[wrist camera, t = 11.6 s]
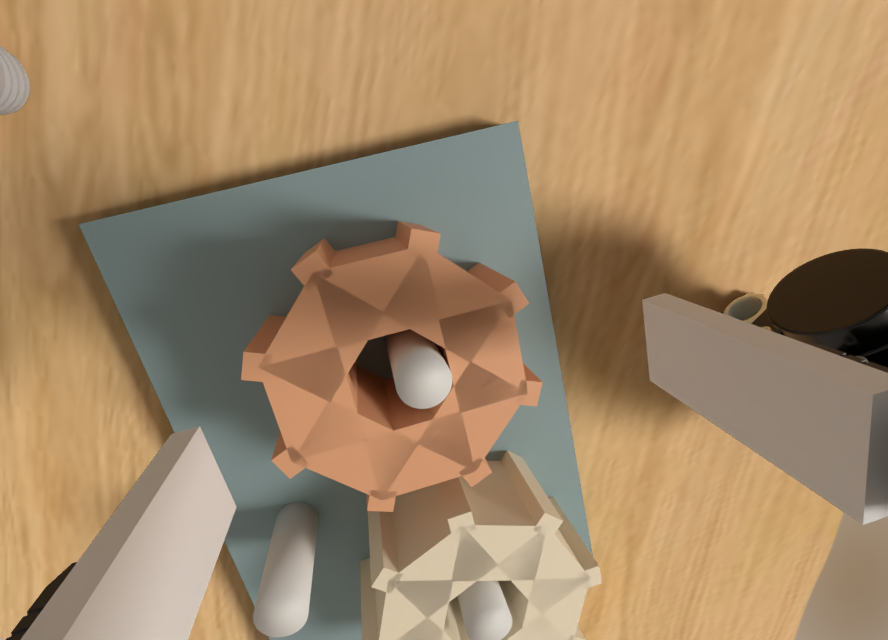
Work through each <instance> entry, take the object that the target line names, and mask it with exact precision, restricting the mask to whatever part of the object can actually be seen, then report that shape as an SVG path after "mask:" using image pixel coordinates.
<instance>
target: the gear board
mask: <svg viewBox="0 0 888 640" xmlns="http://www.w3.org/2000/svg"><path fill="white" fill-rule="evenodd" d="M398 221H402V222H408V223H414V224H419V225H422V226H425V227H427V228H429V229H432V230H434V231H436V232H439V233H441V235H440V241H439V247H438V253H439V254H440V255H442V256H443V257H445V258H447V259H448V260H450V261H451V262H453V263H455V264H456V265H458V266H459V267H461V268H463V269H464V270H466V271H468V270H469V269H471V268H472V267H473V266H475V265H476V264H477V263H481V264H483V265H485V266H487V267H489V268H491V269H493V270H495V271H496V272H498V273H500V274H502V275H504V276H506V277H508V278H510V279H512V280H513V281H515V282H516V283H517V285H518V286H519V288H520V289H521V291H522V293H523V294H524V296H525V297H526V299H527V300H528V302H529V304H528V305H527V306H525V307H524V308H523V309H521V310H520V311H519V312H517V313H516V314H514V317H515V322H516V328H517V333H518V339H519V345H520V350H521V356H522V361H523V363H524V364H525V365H526V366H527V367H528V368H529V369H530V370H531V371H532V372H533V373H534V374H535V375H536V376H537V377H538V378H539V379H540V380H541V381H542V382H543V383H542V387H541V392H540V396H539V400H538V404H537V406H527V405H520V406H519V408H518V409H517V411H516V412H515V414H514V415H513V417H512V418H511V420H510V421H509V423H508V424H507V426H506V427H505V428H504V430H503V431H502V433H501V434H500V436H499V437H498V439H497V440H496V442H495V443H494V445H493V446H492V448H491V449H490V451H489V452H488V454H487V455H486V457H485V459H486V461H487V463H488V465H489V467H490V469H491V471H492V473H491V474H489V475H488V476H487V477H485V478H484V479H483V480H481V481H480V482H478V483H477V484H476V485H474V486H473V487H471V486H470V485H469V484H468V482H467V481H466V480H465V479H464V478H463V476H460V477H457V478H454V479H450V480H447V481H444V482H441V483H437V484H434V485H431V486H428V487H424V488H421V489H418V490H415V491H411V492H408V493H405V494H401V495H398V496H396V498H395V504H394V510H393V512H382V511H367V498H366V493H363V492H361V491H359V490H356V489H354V488H352V487H349V486H347V485H345V484H342V483H340V482H338V481H335V480H333V479H330V478H328V477H326V476H323V475H321V474H319V473H316V472H314V471H312V470H309V469H307V468H304V469H303V470H302V471H300V472H299V473H298V474H296V475H295V476H293V477H292V478H291V479H289V478H288V477H287V476H286V475H285V474H284V473H283V472H282V471H281V470H280V469H279V468H278V467H277V466H276V465H275V464H274V463H273V462H272V461H271V459H272V456H273V453H274V450H275V447H276V443H277V440H278V437H279V434H280V429H279V426H278V423H277V420H276V417H275V415H274V412H273V409H272V406H271V404H270V401H269V398H268V395H267V393H266V390H265V387H264V384H263V382H258V381H246V380H241V374H242V362H243V352H244V350H245V349H246V347H247V346H248V344H249V343H250V342H251V340H252V339H253V337H254V336H255V335H256V333H257V332H258V330H259V329H260V327H261V326H262V325H263V323H264V322H265V320H266V319H267V317H268V316H269V315H274V316H283V317H286V316H287V314H288V312H289V311H290V309H291V307H292V306H293V304H294V302H295V300H296V299H297V297H298V295H299V294H300V292H301V290H302V288H303V287H304V285H303V284H302V283H301V282H300V280H299V279H298V278H297V277H296V276H295V274H294V273H293V272H292V271H291V269H292V267H293V266H294V265H295V264H296V263H297V261H298V260H299V259H300V258H301V257H302V256H303V254H304V253H305V252H306V251H308V250H309V249H310V248H312V247H313V246H314V245H316V244H317V243H318V242H320V241H321V240H323V239H324V238H325V239H326V240H327V241H328V243H329V244H330V245H331V246H332V248H333V249H334V250H335V251H337V250H342V249H346V248H350V247H354V246H358V245H362V244H367V243H371V242H375V241H379V240H383V239H388V238H392V237H395V235H396V229H397V222H398ZM79 227H80V229H81V231H82V233H83V235H84V237H85V240H86V242H87V244H88V246H89V248H90V251H91V253H92V255H93V257H94V259H95V261H96V264H97V266H98V268H99V270H100V272H101V274H102V277H103V279H104V281H105V283H106V285H107V287H108V290H109V292H110V294H111V296H112V298H113V300H114V303H115V305H116V307H117V309H118V311H119V313H120V316H121V318H122V320H123V322H124V324H125V327H126V329H127V331H128V333H129V335H130V337H131V340H132V342H133V344H134V346H135V348H136V350H137V353H138V355H139V357H140V359H141V361H142V363H143V366H144V368H145V370H146V372H147V374H148V376H149V379H150V381H151V383H152V385H153V387H154V389H155V392H156V394H157V396H158V398H159V400H160V403H161V405H162V407H163V409H164V411H165V413H166V416H167V418H168V420H169V422H170V424H171V426H172V429H173V431H174V433H177V432H181V431H184V430H188V429H191V428H195V427H198V426H200V428H201V430H202V432H203V434H204V436H205V439H206V441H207V443H208V445H209V447H210V450H211V452H212V454H213V456H214V458H215V461H216V463H217V465H218V467H219V469H220V472H221V474H222V476H223V478H224V480H225V482H226V485H227V487H228V489H229V491H230V493H231V496H232V498H233V500H234V502H235V504H236V510H235V512H234V515H233V518H232V521H231V523H230V526H229V529H228V532H227V534H226V537H225V540H224V542H225V544H226V546H227V548H228V550H229V552H230V555H231V557H232V559H233V561H234V563H235V565H236V568H237V570H238V572H239V574H240V576H241V578H242V581H243V583H244V585H245V587H246V589H247V591H248V594H249V596H250V598H251V600H252V602H253V604H254V607H255V609H254V613H253V623H254V625H255V627H256V629H257V630H258V631H259V632H261V633H262V634H264V635H267V636H268V637H269V639H270V640H586V639H585V638H584V636H583V634H582V632H581V630H580V628H579V626H578V622H579V619H580V615H581V611H582V608H583V604H584V600H585V596H586V593H587V589H588V588H590V587H592V586H595V585H598V584H601V583H602V581H601V575H600V569H599V565H598V564H597V562H596V561H595V559H594V558H593V554H592V548H591V542H590V537H589V531H588V525H587V519H586V513H585V507H584V502H583V496H582V490H581V484H580V478H579V473H578V467H577V461H576V455H575V449H574V443H573V438H572V432H571V426H570V420H569V414H568V408H567V403H566V397H565V391H564V385H563V379H562V374H561V368H560V362H559V356H558V350H557V344H556V339H555V333H554V327H553V321H552V315H551V310H550V304H549V298H548V292H547V286H546V280H545V275H544V269H543V263H542V257H541V251H540V245H539V240H538V234H537V228H536V222H535V216H534V211H533V205H532V199H531V193H530V187H529V181H528V176H527V170H526V164H525V158H524V152H523V147H522V141H521V135H520V129H519V123H518V121H515V122H510V123H506V124H502V125H498V126H493V127H489V128H485V129H481V130H476V131H472V132H468V133H464V134H459V135H455V136H451V137H447V138H442V139H438V140H434V141H430V142H425V143H421V144H417V145H413V146H408V147H404V148H400V149H396V150H391V151H387V152H383V153H379V154H375V155H370V156H366V157H362V158H358V159H353V160H349V161H345V162H341V163H336V164H332V165H328V166H324V167H319V168H315V169H311V170H307V171H302V172H298V173H294V174H290V175H285V176H281V177H277V178H273V179H268V180H264V181H260V182H256V183H251V184H247V185H243V186H239V187H234V188H230V189H226V190H222V191H217V192H213V193H209V194H205V195H200V196H196V197H192V198H188V199H183V200H179V201H175V202H171V203H166V204H162V205H158V206H154V207H149V208H145V209H141V210H137V211H132V212H128V213H124V214H120V215H115V216H111V217H107V218H103V219H98V220H94V221H90V222H86V223H81V224H79ZM356 365H357V366H359V367H361V368H363V369H365V370H367V371H369V372H371V373H373V374H375V375H377V376H379V377H381V378H383V379H384V380H385V379H389V378H392V377H394V382H395V386H396V391H397V394H398V395H399V397H400V399H401V400H402V401H403V402H404V403H405V404H407V405H409V406H411V407H413V408H418V409H426V408H431V407H434V406H436V405H438V404H439V403H441V402H442V401H443V400H444V399H445V398H446V397H447V395H448V394H449V392H450V390H451V386H452V374H451V371H450V369H449V367H448V365H447V364H446V362H445V360H444V358H443V356H442V355H441V353H440V351H439V349H438V347H437V346H436V344H435V343H434V342H432V341H431V340H429V339H427V338H425V337H423V336H422V335H420V334H418V333H416V332H414V331H413V330H411V329H408V330H405V331H401V332H397V333H393V334H389V335H386V336H382V337H378V338H374V339H370V340H368V341H367V343H366V344H365V346H364V348H363V349H362V351H361V353H360V354H359V356H358V357H357V359H356Z"/></svg>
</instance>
